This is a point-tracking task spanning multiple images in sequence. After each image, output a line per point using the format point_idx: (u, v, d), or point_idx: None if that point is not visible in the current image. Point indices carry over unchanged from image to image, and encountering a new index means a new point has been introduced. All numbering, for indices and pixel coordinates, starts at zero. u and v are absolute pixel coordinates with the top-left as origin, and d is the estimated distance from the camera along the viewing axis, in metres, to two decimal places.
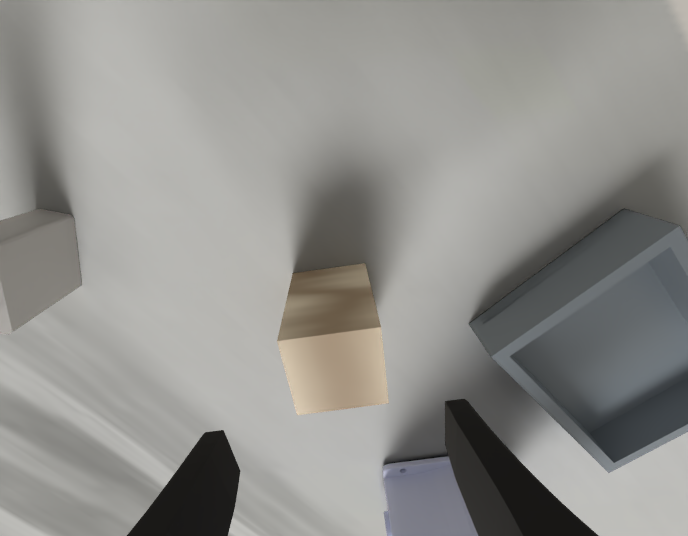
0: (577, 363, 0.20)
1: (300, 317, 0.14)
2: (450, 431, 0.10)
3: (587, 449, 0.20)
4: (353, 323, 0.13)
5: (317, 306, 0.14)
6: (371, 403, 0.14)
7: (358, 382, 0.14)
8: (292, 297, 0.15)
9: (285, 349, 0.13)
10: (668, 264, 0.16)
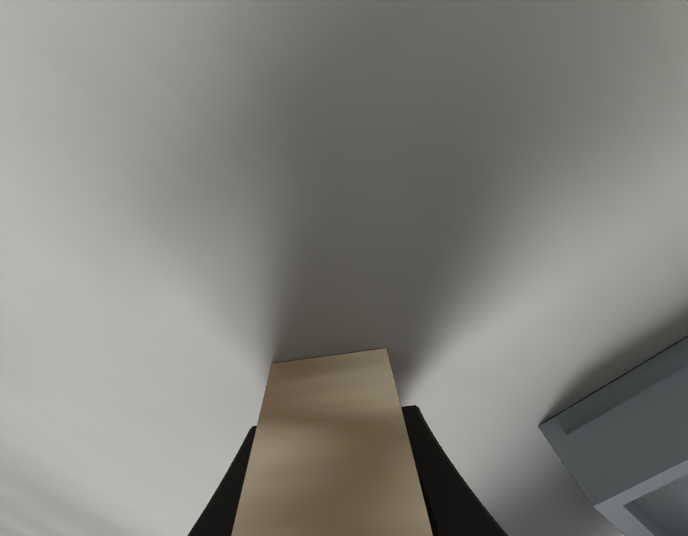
0: None
1: (273, 500, 0.07)
2: None
3: None
4: None
5: (307, 466, 0.08)
6: None
7: None
8: (264, 431, 0.09)
9: None
10: None
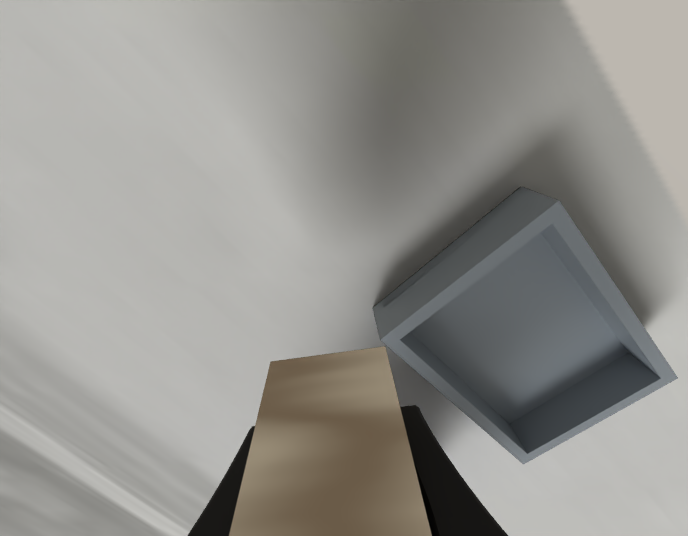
0: (487, 350, 0.20)
1: (272, 497, 0.07)
2: None
3: (497, 439, 0.20)
4: (377, 535, 0.06)
5: (305, 462, 0.08)
6: None
7: None
8: (263, 429, 0.09)
9: None
10: (559, 244, 0.15)
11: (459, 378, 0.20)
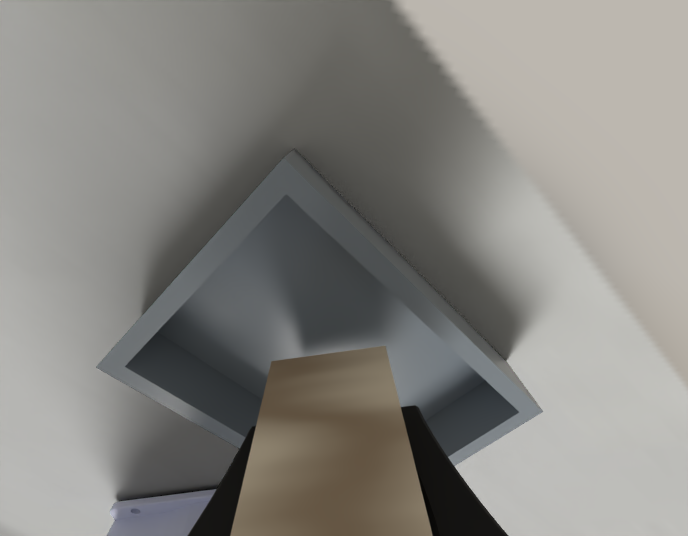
0: None
1: (273, 496, 0.07)
2: None
3: None
4: (378, 532, 0.06)
5: (306, 461, 0.08)
6: None
7: None
8: (264, 428, 0.09)
9: None
10: None
11: None
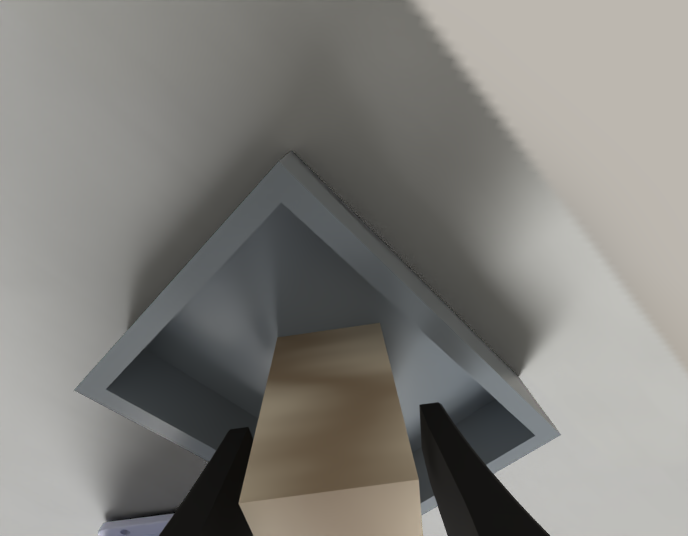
0: None
1: (282, 440, 0.09)
2: (424, 434, 0.10)
3: None
4: (370, 463, 0.08)
5: (309, 414, 0.09)
6: None
7: None
8: (273, 390, 0.10)
9: (254, 513, 0.07)
10: None
11: None
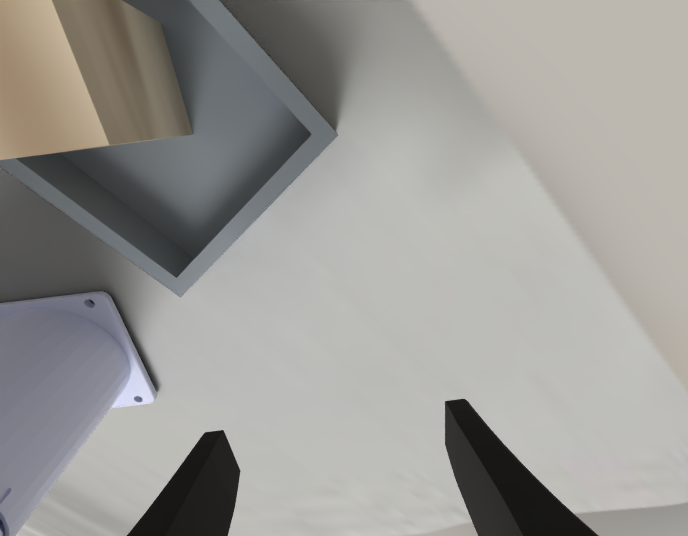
0: None
1: None
2: (450, 431, 0.10)
3: (115, 248, 0.14)
4: None
5: None
6: (83, 148, 0.09)
7: (39, 91, 0.08)
8: None
9: None
10: None
11: (77, 168, 0.14)
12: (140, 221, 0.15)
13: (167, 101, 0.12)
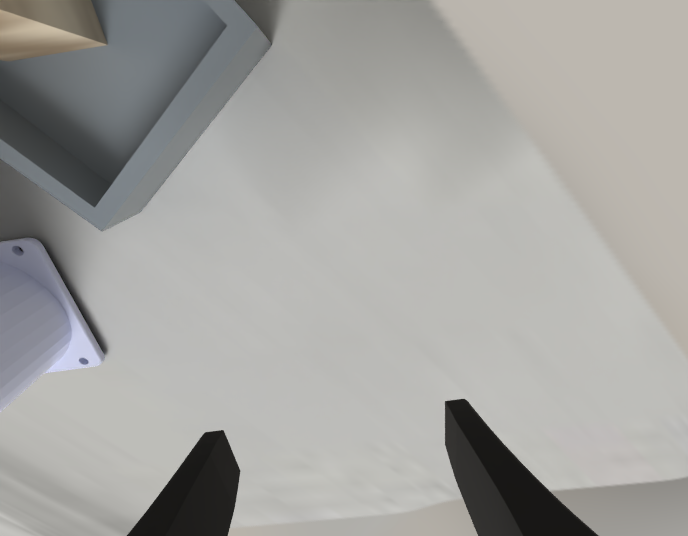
0: None
1: None
2: (450, 431, 0.10)
3: (21, 171, 0.12)
4: None
5: None
6: None
7: None
8: None
9: None
10: None
11: None
12: (58, 149, 0.14)
13: None
